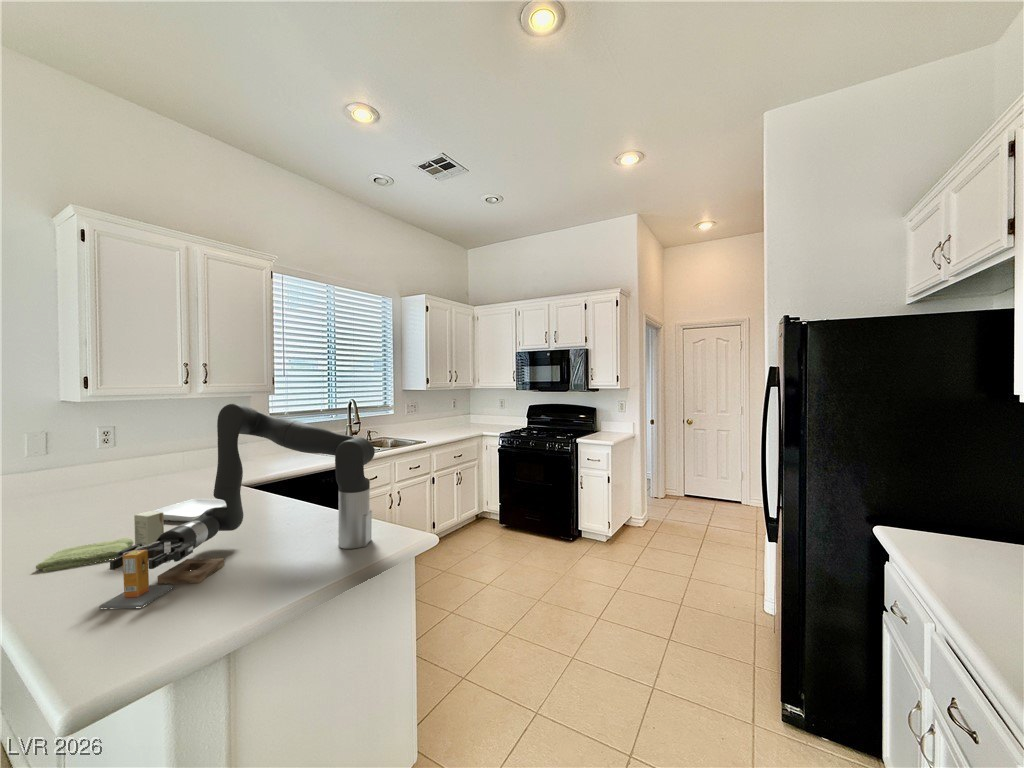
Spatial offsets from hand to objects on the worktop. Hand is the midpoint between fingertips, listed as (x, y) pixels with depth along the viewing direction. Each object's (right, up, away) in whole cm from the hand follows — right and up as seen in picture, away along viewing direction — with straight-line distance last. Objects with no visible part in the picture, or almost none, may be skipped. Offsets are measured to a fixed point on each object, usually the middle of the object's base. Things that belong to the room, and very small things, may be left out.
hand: (130, 565), depth 94 cm
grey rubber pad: (0, -9, +2) cm, 9 cm away
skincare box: (-20, -9, +27) cm, 34 cm away
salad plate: (-36, -9, +64) cm, 74 cm away
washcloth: (-35, -9, +24) cm, 44 cm away
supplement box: (-1, -8, +2) cm, 8 cm away
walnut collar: (+3, -9, +14) cm, 17 cm away
